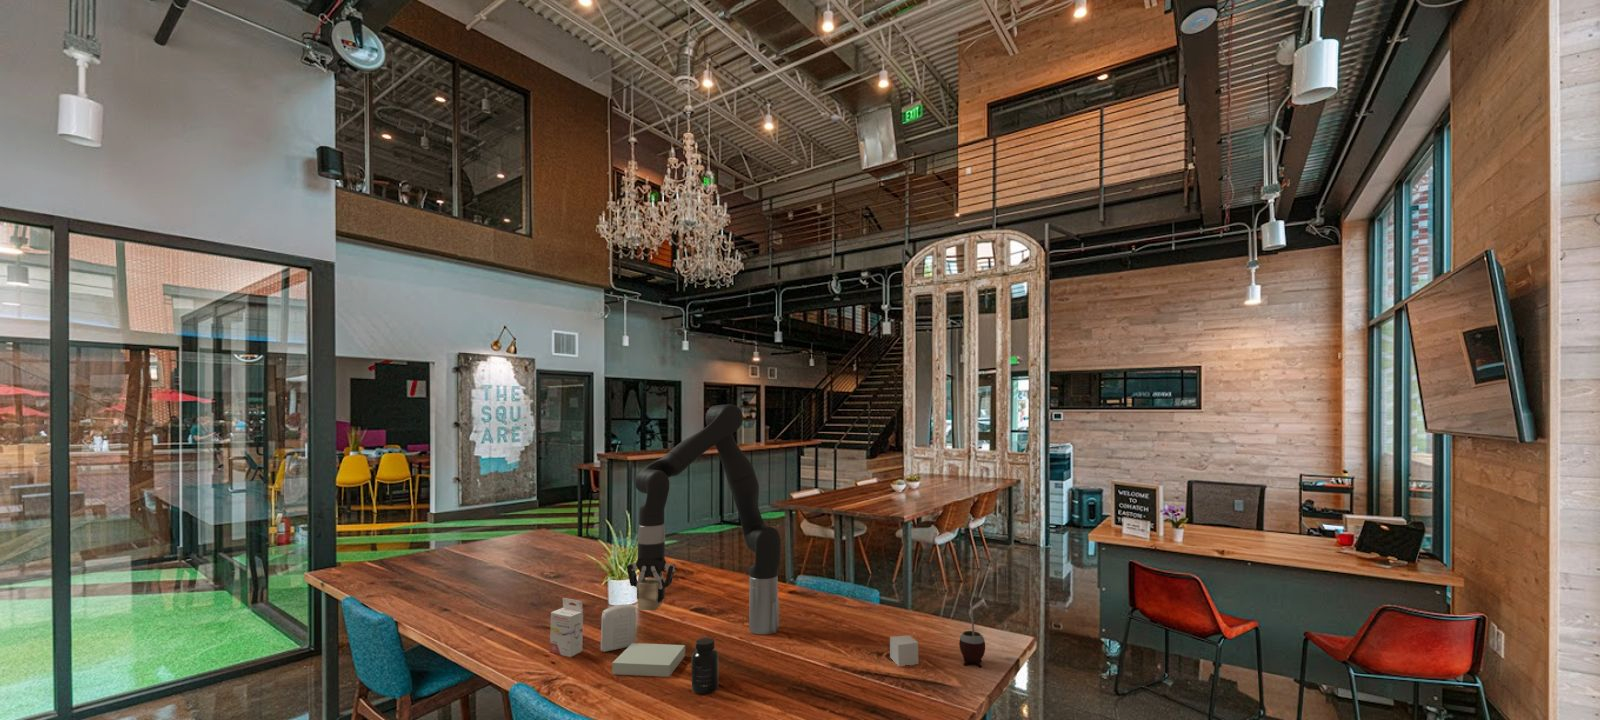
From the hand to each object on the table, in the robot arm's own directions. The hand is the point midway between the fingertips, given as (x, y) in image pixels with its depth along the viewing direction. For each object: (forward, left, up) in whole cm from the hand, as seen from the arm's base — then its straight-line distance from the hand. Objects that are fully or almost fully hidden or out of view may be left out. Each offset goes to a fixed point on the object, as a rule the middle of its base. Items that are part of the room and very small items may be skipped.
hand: (650, 601), depth 175 cm
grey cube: (-71, -10, -18) cm, 74 cm away
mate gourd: (-90, -11, -18) cm, 92 cm away
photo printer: (+14, -11, -18) cm, 25 cm away
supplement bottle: (-20, +13, -18) cm, 29 cm away
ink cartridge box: (+28, -6, -18) cm, 34 cm away
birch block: (0, 0, -1) cm, 1 cm away
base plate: (0, 0, -17) cm, 17 cm away
